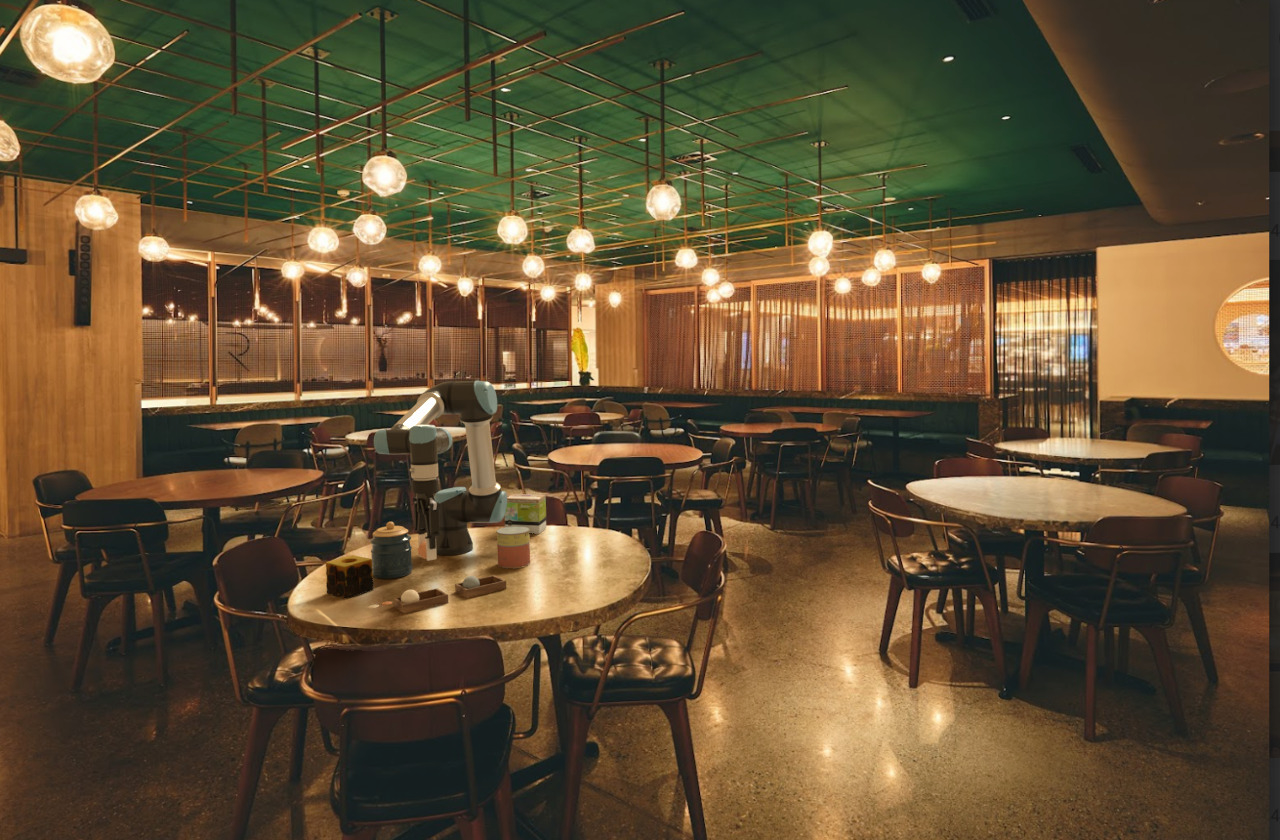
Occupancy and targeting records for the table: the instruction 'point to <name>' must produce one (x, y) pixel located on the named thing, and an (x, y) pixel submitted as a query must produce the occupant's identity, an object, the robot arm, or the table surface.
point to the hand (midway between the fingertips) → (427, 557)
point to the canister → (391, 552)
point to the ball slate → (471, 582)
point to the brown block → (349, 576)
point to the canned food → (513, 546)
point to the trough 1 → (422, 601)
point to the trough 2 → (482, 586)
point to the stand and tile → (378, 605)
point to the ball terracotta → (422, 550)
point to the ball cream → (409, 596)
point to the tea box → (526, 512)
